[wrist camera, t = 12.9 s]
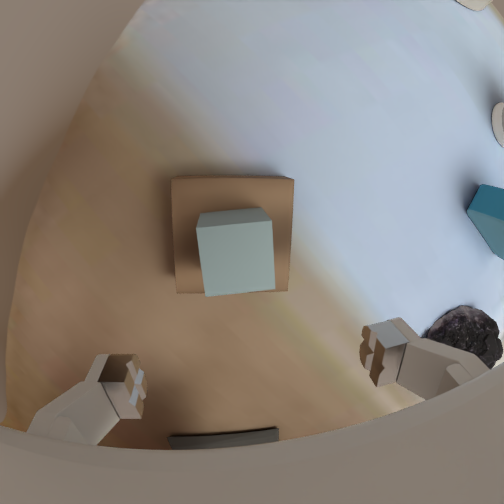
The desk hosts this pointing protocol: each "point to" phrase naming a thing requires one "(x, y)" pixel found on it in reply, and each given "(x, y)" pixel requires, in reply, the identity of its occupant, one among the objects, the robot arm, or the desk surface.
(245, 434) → the computer monitor
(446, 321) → the black rock
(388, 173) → the desk surface
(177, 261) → the walnut block
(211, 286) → the slate cube
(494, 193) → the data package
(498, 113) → the spray bottle
